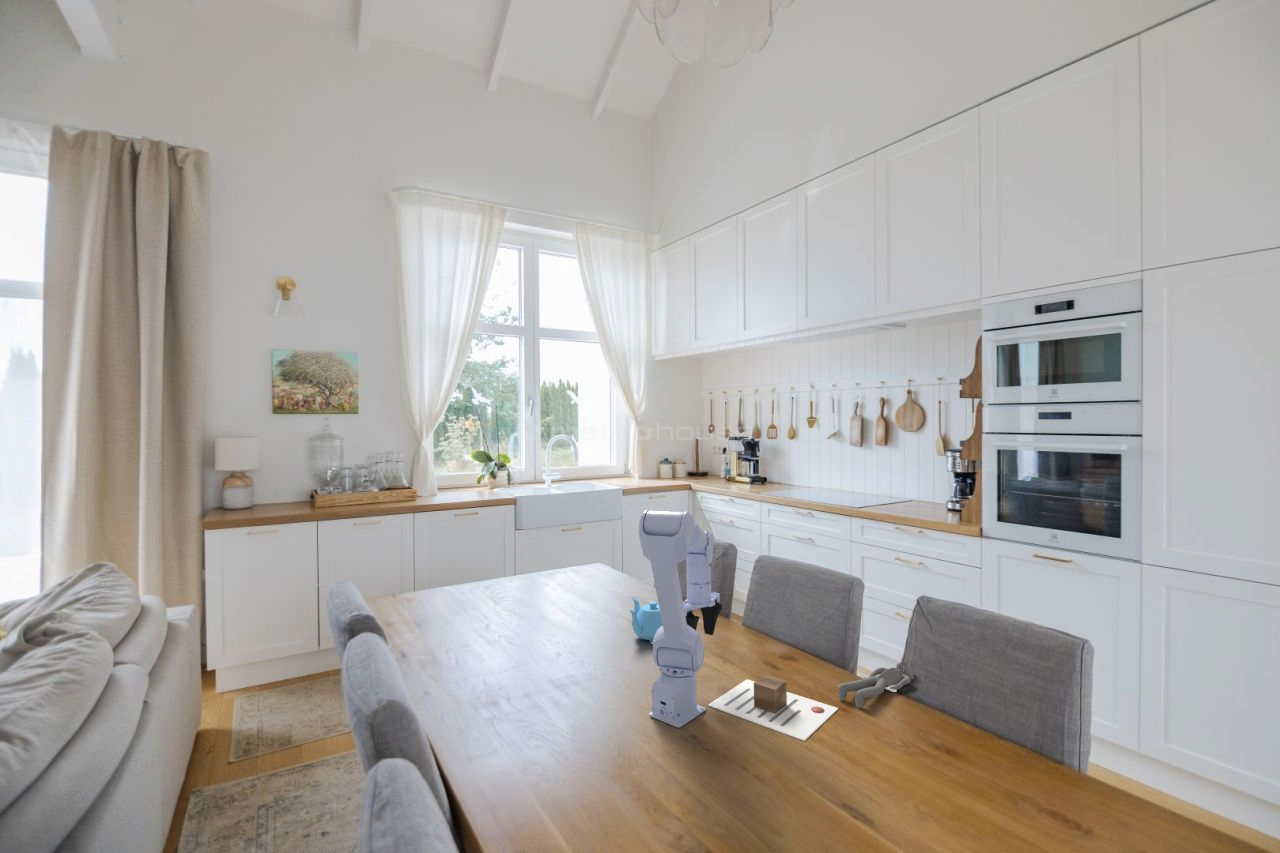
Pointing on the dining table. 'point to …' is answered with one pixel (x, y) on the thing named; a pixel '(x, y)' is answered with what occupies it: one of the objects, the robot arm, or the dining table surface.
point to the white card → (790, 720)
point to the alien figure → (876, 683)
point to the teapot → (646, 620)
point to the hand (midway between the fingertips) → (699, 638)
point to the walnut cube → (770, 694)
